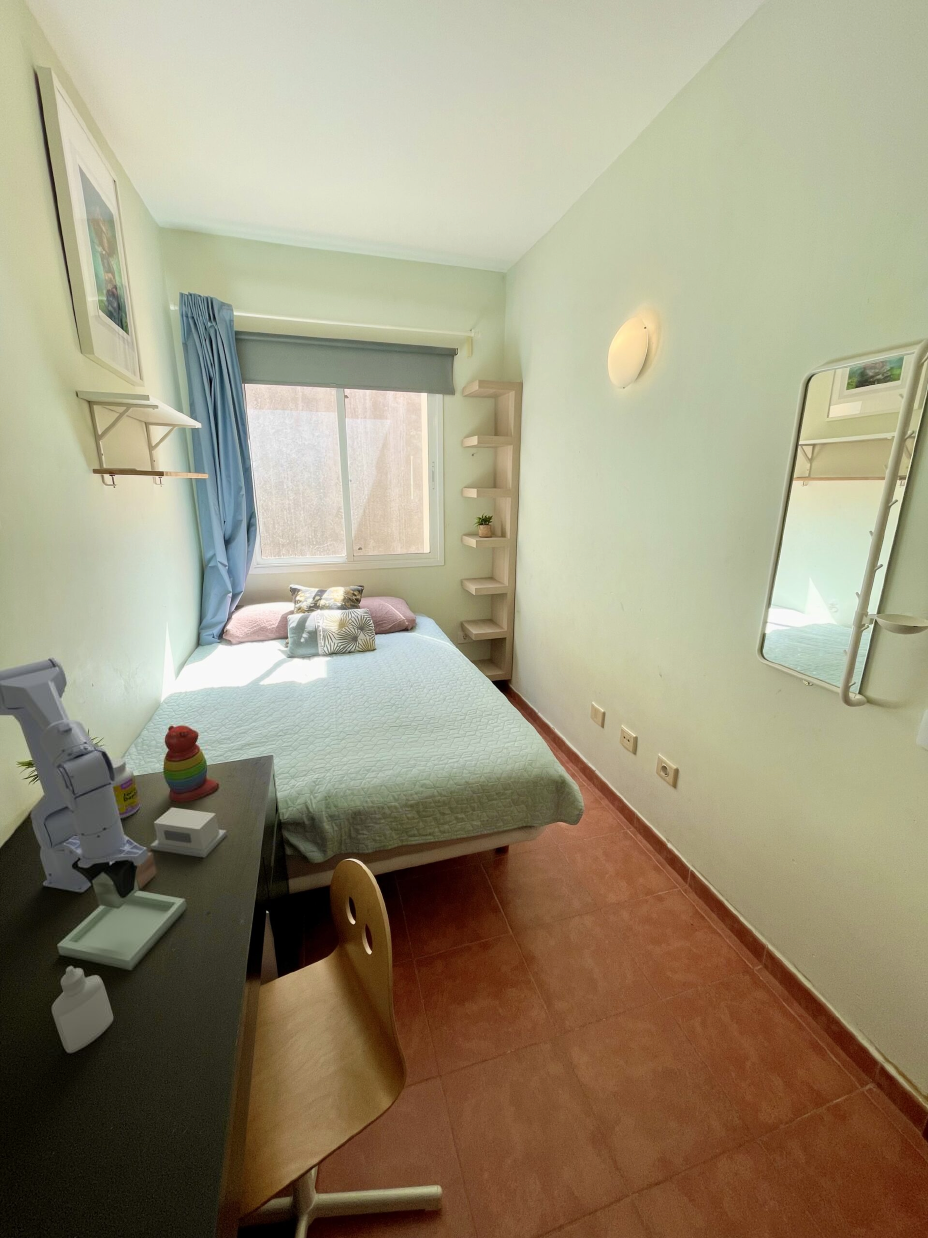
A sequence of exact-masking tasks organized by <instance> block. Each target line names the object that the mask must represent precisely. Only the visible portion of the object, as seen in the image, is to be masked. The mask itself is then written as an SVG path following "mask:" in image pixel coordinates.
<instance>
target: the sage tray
mask: <svg viewBox="0 0 928 1238" xmlns="http://www.w3.org/2000/svg"><path fill="white" fill-rule="evenodd" d="M186 910H187V903H186V899H185V898H180V897H175V896H169V895H164V894H159V893H152V892H147V891H142V890H138V891H137V892H136V893H135V894H134V895H133V896H132V897H131V898H130V899H129V900H128V901H127V902H126V903H125V904H124V905H123V906H121V907H120V908H119V909H116V908H111V907H106V906H101V905H98V907H97V908H96V909H95V910H94V911H93V912H92V913H91V914H90V915H89V916H87V917H86V918H85V919H84V920H83V921H82V922H80V923H79V924H78V926H77V927H75V928H74V929H73V930H72V931H71V932H70V933H69V934H68V935H67V936H65V938H63V939H62V940H61V941H60V942H59V943H58V944H57V949H58V952H59V955H60V956H66V957H70V958H74V959H78V960H84V961H88V962H92V963H96V964H97V963H98V964H101V965H106V966H110V967H115V968H120V969H123V970H129V971H132V970H133V969H134V968H135V967H136V966H137V964H138V963H140V961H141V960H142V959H143V958H145V956H146V955H147V954H148V952H149V951H150V950H151V949H152V948H153V947H154V945H156V943H158V941H159V940H160V938H161V937H163V936H164V934H165V933H166V932H167V931H168V930H169V929H170V928H171V927H172V925H173V924H174V923H175V922H176V920H178V918H179V917H180V916H181V915H182V914H183V913H184V912H185V911H186Z"/></svg>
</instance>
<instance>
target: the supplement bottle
mask: <svg viewBox="0 0 928 1238" xmlns="http://www.w3.org/2000/svg"><path fill="white" fill-rule="evenodd" d="M111 762H112V764H113V767H114V772H115V781H111V780H110V782H111V783H112V787H113V791H114V795H115V799H116V803H117V807H118V811H119V815H120V819H125V818H127V817H129V816H131V815H133V814H135V813H136V812H137V811H138V810H139V808H140V807H141V802H140V796H139V792H138V787H137V784H136V779H135V775H134V774H135V773H134V770H132V769H131V767H128V766H127V762H126V759H125V758H123V757H118V758H112V759H111Z"/></svg>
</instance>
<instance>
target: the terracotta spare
mask: <svg viewBox="0 0 928 1238" xmlns="http://www.w3.org/2000/svg"><path fill="white" fill-rule="evenodd" d="M147 852H148V856H149V857H148V858H147V859H146V860H145V861H144V862H143V863H142V864H141V865H140V866H137V870H136V875H135V876H136V880H137V884H138V888H139V890H141V889H143V887H145V885H146V884H148V882H150V881H151V880H152V879H153V878H154V877H155V876H156V875H157V874H158V872H157V868H156V863H155V859H154V855H153V852H150V851H147ZM146 886H147V885H146Z"/></svg>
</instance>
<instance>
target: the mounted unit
mask: <svg viewBox="0 0 928 1238" xmlns="http://www.w3.org/2000/svg"><path fill="white" fill-rule="evenodd" d="M153 825H154V826H153V827H154V830H155V834H156V840H154V841H153V842H152V843H151V844H150V850H152V851H153V850H155V851H159V852H160V851H161V852H168V853H173V854H174V853H175V854H180V855H185V856H190V857H191V856H193V857H199V858H206V857H207V856H208V855H209V854H210V853H211V852H212V851H213V850H214V849H215V848H216V847H217V846H218V845H219V843H220V842H221V841H222V840H223V839H224V838H225V837H226V836H227V835H228V833H227V830H225V829H219V823H218V818H217V813H214V812H206V811H199V810H192V809H185V808H178V807H170V808H169V809H168V810H167V811H166V812H165V813H164V814H162V815H161V816H160V817H159V818H157V819H156V820H155V821H154V822H153Z"/></svg>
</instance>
